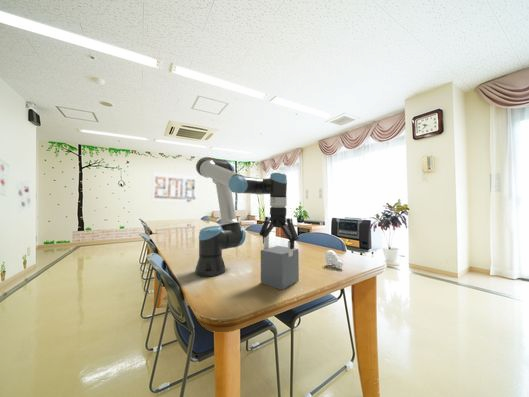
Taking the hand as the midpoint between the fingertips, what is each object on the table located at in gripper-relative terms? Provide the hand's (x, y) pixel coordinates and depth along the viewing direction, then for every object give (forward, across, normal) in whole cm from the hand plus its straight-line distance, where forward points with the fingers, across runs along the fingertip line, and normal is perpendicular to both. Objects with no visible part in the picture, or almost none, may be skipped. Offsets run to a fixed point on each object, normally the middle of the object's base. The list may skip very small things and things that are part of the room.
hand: (277, 253), depth 93 cm
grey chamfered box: (+13, +1, +1) cm, 13 cm away
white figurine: (+13, +12, +39) cm, 43 cm away
